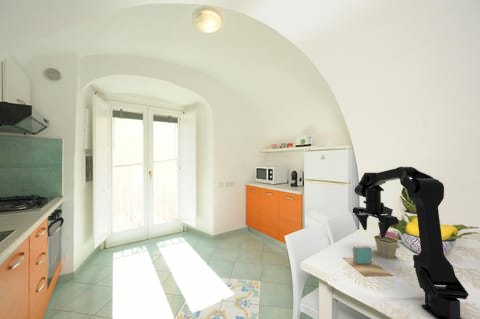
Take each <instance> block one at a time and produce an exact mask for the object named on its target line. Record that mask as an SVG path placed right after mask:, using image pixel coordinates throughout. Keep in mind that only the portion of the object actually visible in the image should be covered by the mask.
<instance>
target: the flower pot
mask: <svg viewBox="0 0 480 319" xmlns="http://www.w3.org/2000/svg"><path fill="white" fill-rule="evenodd" d="M373 238H374V241H375V243H376V249H377V251H376V252H377V254H378V255H379V256H380V257H382V258H386V259H395V258H396V252H397V247H398V244H399V243H400V241H399V240H396V239H394V238H392V237H388V236H385V237H384V238H382V237H381V235H379V234H378V235H377V234H376V235H374V236H373Z"/></svg>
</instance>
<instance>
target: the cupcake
mask: <svg viewBox="0 0 480 319" xmlns="http://www.w3.org/2000/svg"><path fill="white" fill-rule="evenodd" d="M378 235H381V234H380V232H379V233H378ZM385 236H388V237H392V238H394V239H396V240H398V241H399V240H400V237H399V235H398V234H396V233H394V232H392V231H387V233H386V235H385Z"/></svg>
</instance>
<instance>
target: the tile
mask: <svg viewBox="0 0 480 319" xmlns="http://www.w3.org/2000/svg"><path fill="white" fill-rule="evenodd" d="M352 249H353V250H352V252H353V254H352V258H353V263H354V264H356V265H368V264H372V261H373V258H372V247H370V246H368V245H367V246H353V248H352Z"/></svg>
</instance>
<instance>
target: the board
mask: <svg viewBox="0 0 480 319" xmlns="http://www.w3.org/2000/svg"><path fill="white" fill-rule="evenodd" d="M342 259H343V260H344V261H345V262H346V263H347V264H348V265H350V266H351V267H352V268H353V269H354V270H355V271H356V272H358V273H359V274H360V275H361V276H363V277H364V278H365V277H366V278H367V277H371V278H372V277H394V275H393V274H392V273H391V272H389V271H388V270H386V269H384V268H383V267H382V266H380V265H379V264H378V263H376V262H375V261H373V260H372V264H368V265H356V264H354V263H353V257H342Z"/></svg>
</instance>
